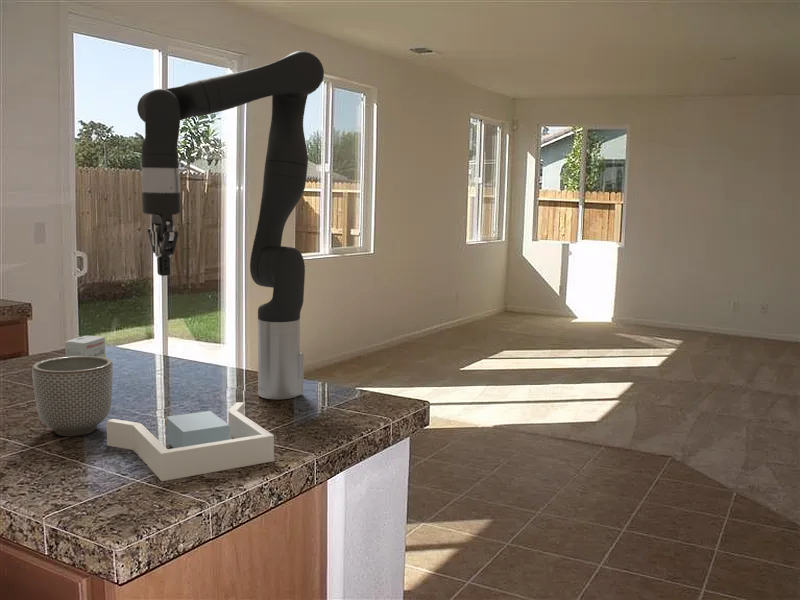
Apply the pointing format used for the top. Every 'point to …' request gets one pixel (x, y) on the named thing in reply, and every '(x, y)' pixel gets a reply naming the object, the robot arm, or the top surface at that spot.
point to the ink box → (86, 346)
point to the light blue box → (195, 429)
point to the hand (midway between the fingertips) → (163, 275)
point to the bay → (196, 447)
